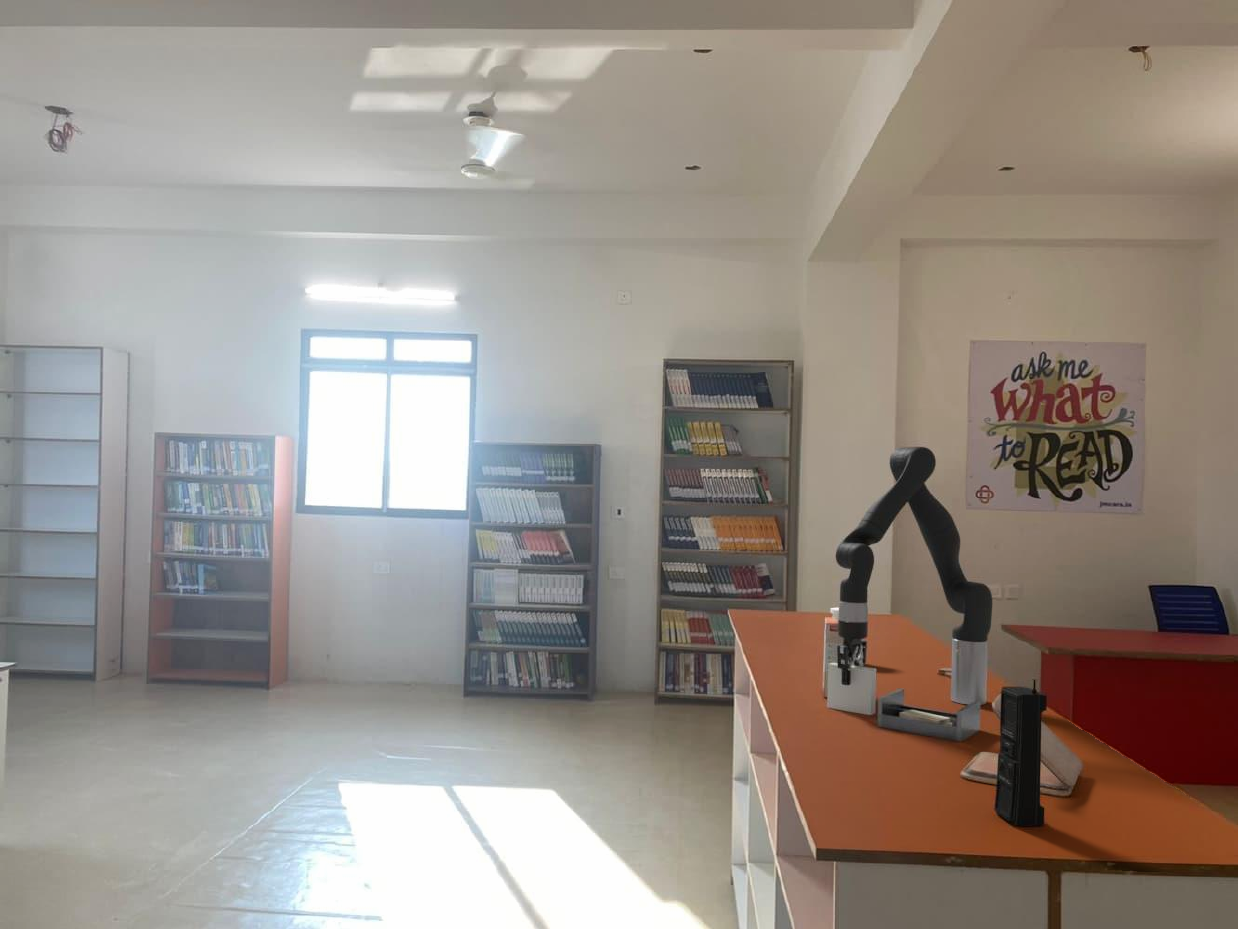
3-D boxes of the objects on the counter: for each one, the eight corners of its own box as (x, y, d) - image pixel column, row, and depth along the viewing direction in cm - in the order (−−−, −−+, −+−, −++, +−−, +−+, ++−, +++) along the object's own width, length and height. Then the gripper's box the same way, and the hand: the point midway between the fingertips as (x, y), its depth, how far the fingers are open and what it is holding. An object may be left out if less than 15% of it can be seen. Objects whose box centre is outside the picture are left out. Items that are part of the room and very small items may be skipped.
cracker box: (845, 700, 259) (847, 623, 259) (822, 698, 260) (824, 622, 260) (843, 689, 272) (845, 617, 273) (822, 688, 274) (824, 616, 274)
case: (1072, 801, 177) (1074, 715, 177) (956, 779, 188) (959, 699, 189) (1084, 776, 194) (1086, 698, 195) (977, 758, 205) (980, 684, 206)
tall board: (831, 705, 251) (833, 662, 251) (875, 713, 244) (876, 668, 244) (827, 707, 249) (828, 664, 249) (870, 715, 241) (871, 670, 242)
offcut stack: (910, 725, 233) (910, 709, 234) (953, 734, 226) (953, 718, 226) (897, 729, 229) (898, 712, 229) (941, 738, 221) (941, 721, 221)
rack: (899, 716, 241) (900, 688, 241) (980, 730, 229) (980, 701, 229) (877, 726, 229) (878, 697, 229) (960, 741, 217) (961, 711, 217)
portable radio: (989, 811, 169) (992, 671, 170) (1021, 811, 169) (1024, 672, 170) (1011, 826, 161) (1014, 680, 162) (1045, 827, 162) (1048, 680, 162)
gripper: (850, 615, 255) (849, 677, 254) (828, 619, 243) (826, 684, 243) (877, 618, 250) (875, 681, 250) (855, 623, 239) (854, 689, 238)
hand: (851, 682), depth 246 cm, fingers open, 6 cm apart
